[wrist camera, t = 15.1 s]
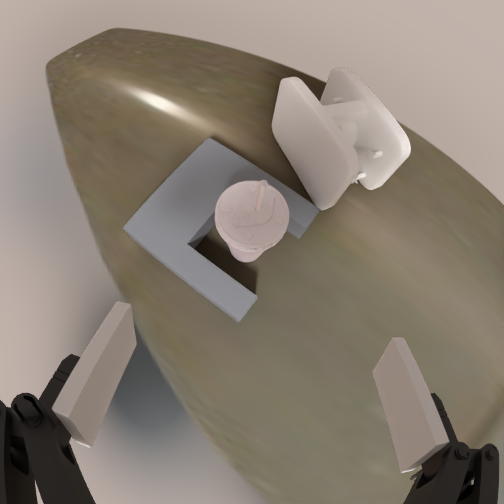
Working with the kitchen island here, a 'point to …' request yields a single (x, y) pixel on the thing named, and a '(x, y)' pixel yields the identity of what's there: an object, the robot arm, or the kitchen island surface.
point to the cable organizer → (337, 136)
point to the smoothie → (251, 218)
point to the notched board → (205, 221)
